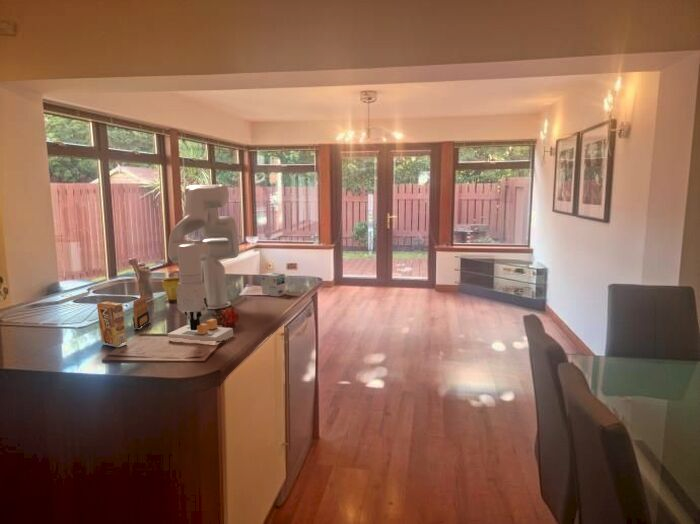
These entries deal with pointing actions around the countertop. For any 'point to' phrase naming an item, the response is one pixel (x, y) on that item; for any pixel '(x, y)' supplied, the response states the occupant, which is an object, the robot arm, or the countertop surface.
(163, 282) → the plant pot
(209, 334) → the switch panel
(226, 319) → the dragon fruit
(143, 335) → the countertop surface
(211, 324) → the switch tab
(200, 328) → the switch tab
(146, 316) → the orange flat piece
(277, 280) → the light bulb box
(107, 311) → the candy box
